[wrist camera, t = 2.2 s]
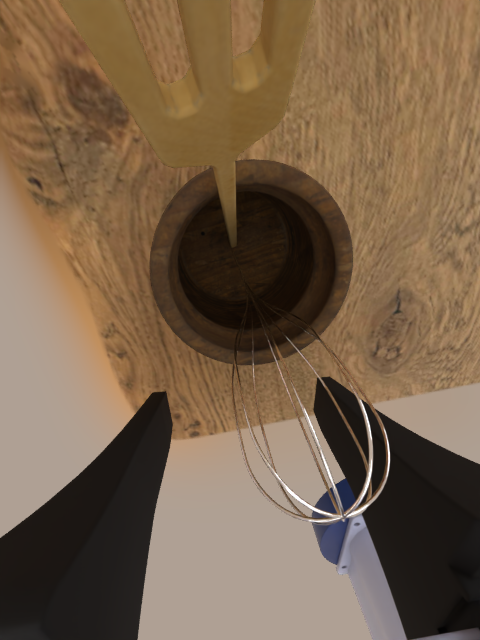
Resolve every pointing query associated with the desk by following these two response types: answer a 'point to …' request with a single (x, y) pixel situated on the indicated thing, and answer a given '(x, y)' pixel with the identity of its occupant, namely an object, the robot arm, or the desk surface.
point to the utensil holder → (236, 202)
